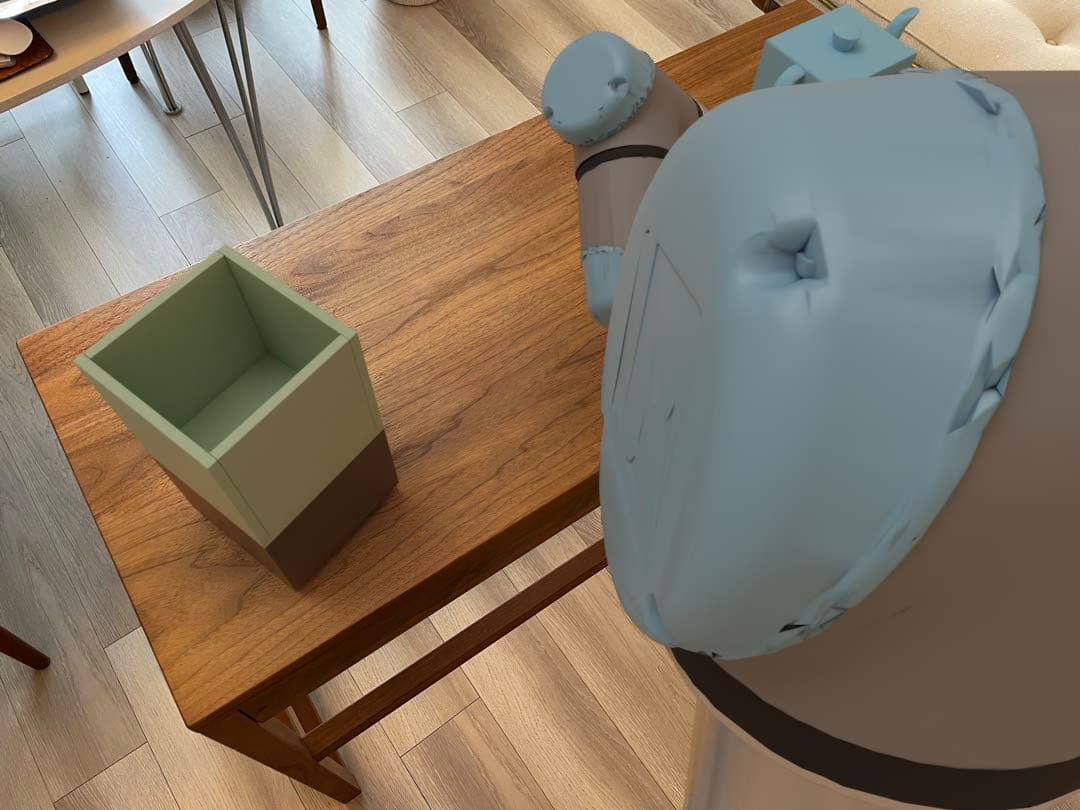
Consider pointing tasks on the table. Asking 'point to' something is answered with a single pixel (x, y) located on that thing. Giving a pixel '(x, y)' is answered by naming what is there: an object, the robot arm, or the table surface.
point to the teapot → (835, 50)
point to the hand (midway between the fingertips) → (784, 231)
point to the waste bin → (251, 410)
